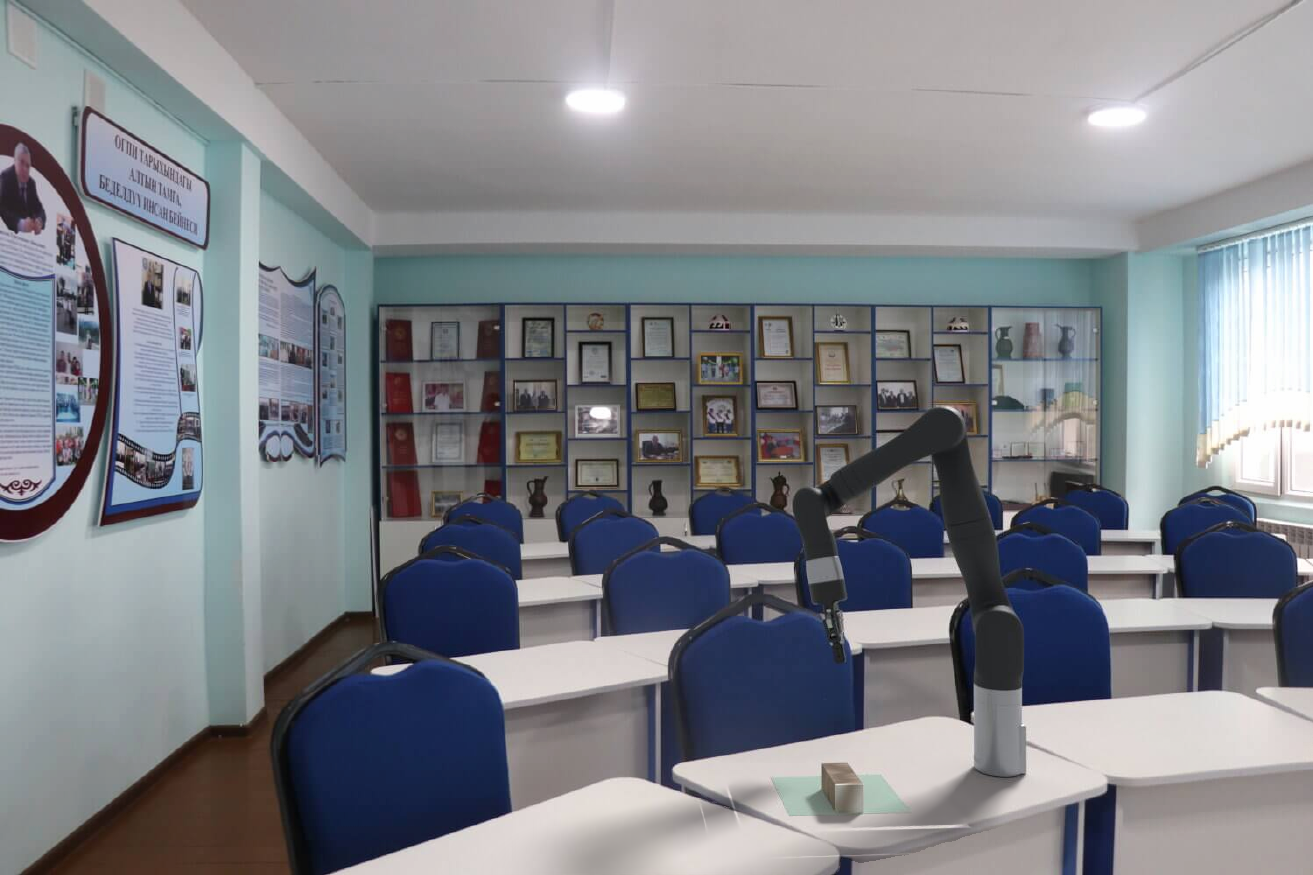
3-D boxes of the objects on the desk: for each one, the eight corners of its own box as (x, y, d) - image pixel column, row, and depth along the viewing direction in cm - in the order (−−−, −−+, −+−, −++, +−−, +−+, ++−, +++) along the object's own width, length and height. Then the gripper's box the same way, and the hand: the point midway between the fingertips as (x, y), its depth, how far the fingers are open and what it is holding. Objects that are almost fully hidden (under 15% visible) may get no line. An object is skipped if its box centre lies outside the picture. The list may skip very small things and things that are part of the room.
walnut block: (847, 762, 184) (863, 784, 173) (847, 788, 184) (863, 812, 173) (821, 763, 184) (835, 785, 173) (821, 789, 184) (835, 812, 173)
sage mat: (880, 776, 192) (880, 774, 192) (911, 814, 173) (911, 812, 173) (770, 779, 191) (770, 777, 191) (789, 818, 172) (789, 815, 172)
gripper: (839, 576, 198) (854, 662, 195) (847, 577, 210) (862, 658, 207) (803, 582, 200) (818, 667, 197) (813, 583, 213) (828, 663, 209)
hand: (840, 662), depth 202 cm, fingers closed
